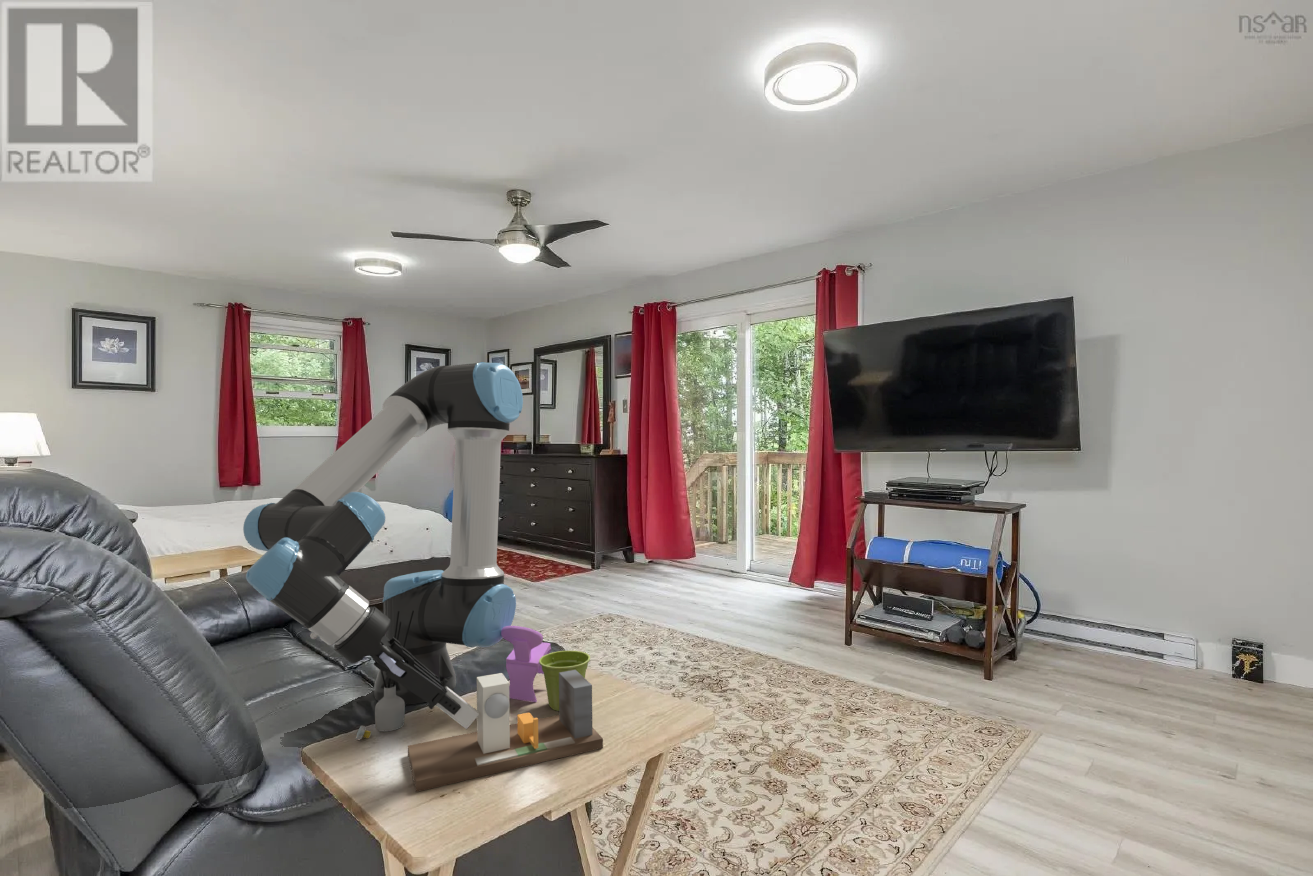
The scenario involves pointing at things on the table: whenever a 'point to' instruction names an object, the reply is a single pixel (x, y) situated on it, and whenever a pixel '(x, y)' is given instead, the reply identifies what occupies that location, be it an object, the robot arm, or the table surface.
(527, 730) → the orange l-shaped piece
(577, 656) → the plant pot
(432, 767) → the gauge board
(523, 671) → the toy chair
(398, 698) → the reed diffuser
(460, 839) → the table surface
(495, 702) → the block
